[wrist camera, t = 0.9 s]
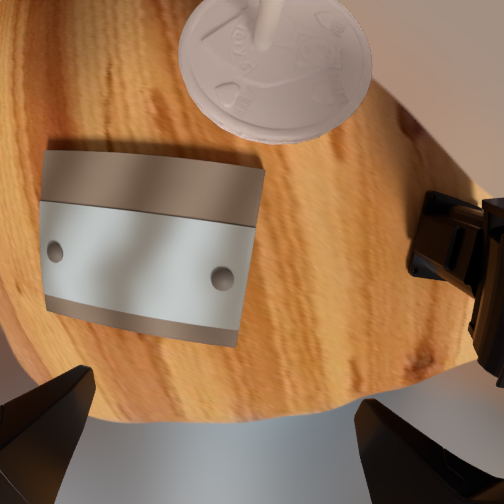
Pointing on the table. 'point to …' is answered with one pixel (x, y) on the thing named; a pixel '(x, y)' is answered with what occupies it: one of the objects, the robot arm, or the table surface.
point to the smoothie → (275, 66)
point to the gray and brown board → (148, 242)
